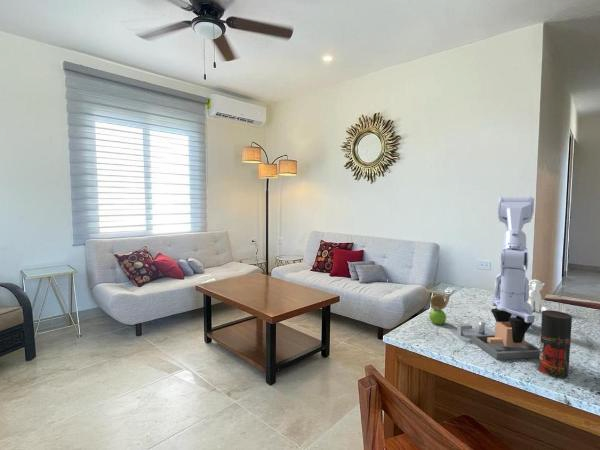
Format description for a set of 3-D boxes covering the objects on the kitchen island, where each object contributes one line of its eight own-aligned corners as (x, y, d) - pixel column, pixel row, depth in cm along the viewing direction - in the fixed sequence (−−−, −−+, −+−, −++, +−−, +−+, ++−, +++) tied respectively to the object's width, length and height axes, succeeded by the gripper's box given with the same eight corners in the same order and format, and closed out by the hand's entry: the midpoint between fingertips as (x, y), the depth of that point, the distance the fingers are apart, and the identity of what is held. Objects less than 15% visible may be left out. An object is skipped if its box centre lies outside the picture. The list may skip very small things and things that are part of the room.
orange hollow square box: (511, 337, 99) (512, 321, 98) (524, 345, 94) (525, 328, 93) (483, 338, 99) (484, 322, 98) (494, 346, 93) (495, 329, 93)
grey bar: (482, 332, 108) (482, 321, 108) (486, 334, 106) (486, 323, 106) (457, 333, 108) (457, 322, 107) (460, 335, 106) (460, 324, 105)
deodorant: (533, 366, 88) (536, 310, 86) (554, 365, 88) (557, 309, 87) (551, 378, 82) (555, 319, 80) (574, 377, 82) (578, 318, 81)
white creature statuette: (519, 311, 130) (521, 280, 129) (517, 304, 137) (519, 276, 136) (549, 315, 125) (551, 283, 124) (546, 308, 133) (547, 278, 132)
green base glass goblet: (450, 328, 113) (451, 293, 112) (430, 326, 114) (431, 292, 113) (447, 322, 118) (448, 289, 117) (427, 321, 120) (428, 288, 119)
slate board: (487, 329, 112) (487, 327, 112) (506, 340, 103) (506, 338, 103) (447, 330, 111) (447, 329, 111) (462, 342, 102) (462, 340, 102)
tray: (513, 341, 103) (513, 333, 103) (543, 359, 91) (544, 351, 91) (470, 343, 102) (471, 335, 101) (496, 361, 90) (496, 353, 90)
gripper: (482, 285, 102) (480, 328, 103) (517, 299, 87) (515, 349, 89) (504, 284, 102) (502, 327, 104) (542, 299, 88) (540, 348, 89)
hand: (509, 337), depth 96 cm, fingers closed on orange hollow square box, 5 cm apart
